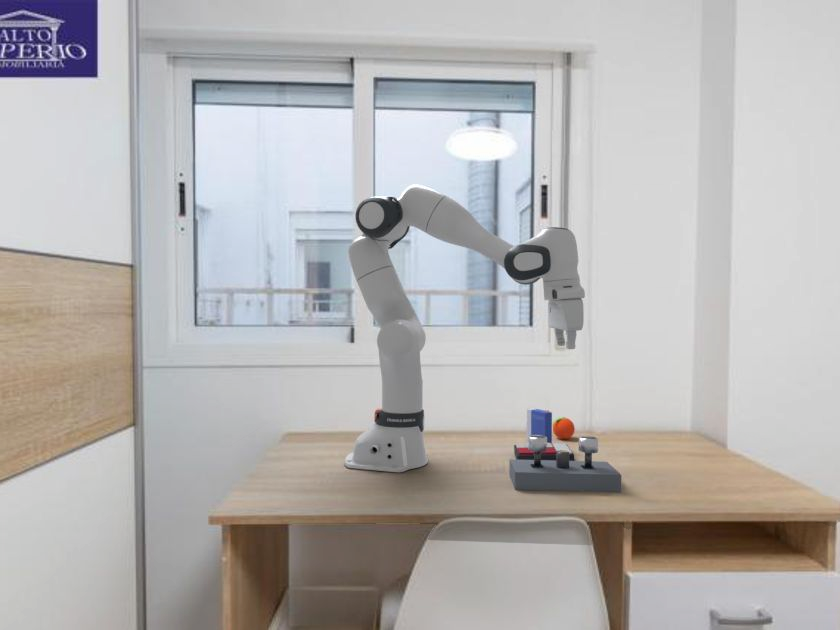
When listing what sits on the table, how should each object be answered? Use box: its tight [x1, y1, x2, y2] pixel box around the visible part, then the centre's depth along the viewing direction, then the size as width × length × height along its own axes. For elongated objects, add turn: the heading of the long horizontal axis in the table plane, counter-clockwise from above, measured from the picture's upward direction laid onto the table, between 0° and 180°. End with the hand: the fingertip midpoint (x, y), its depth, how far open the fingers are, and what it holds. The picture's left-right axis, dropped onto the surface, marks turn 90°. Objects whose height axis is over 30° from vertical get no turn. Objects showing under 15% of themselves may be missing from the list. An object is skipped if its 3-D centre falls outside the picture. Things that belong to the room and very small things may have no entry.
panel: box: [509, 459, 622, 493], centre depth 116 cm, size 24×10×4 cm, turn 87°
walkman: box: [526, 407, 553, 444], centre depth 146 cm, size 8×3×12 cm, turn 31°
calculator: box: [513, 442, 575, 461], centre depth 135 cm, size 11×4×15 cm
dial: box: [556, 450, 569, 469], centre depth 116 cm, size 3×3×4 cm
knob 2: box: [578, 435, 599, 468], centre depth 116 cm, size 4×4×7 cm
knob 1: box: [528, 435, 547, 467], centre depth 116 cm, size 4×4×7 cm
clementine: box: [552, 416, 576, 440], centre depth 158 cm, size 8×7×7 cm
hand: (565, 347), depth 121 cm, fingers open, 8 cm apart
